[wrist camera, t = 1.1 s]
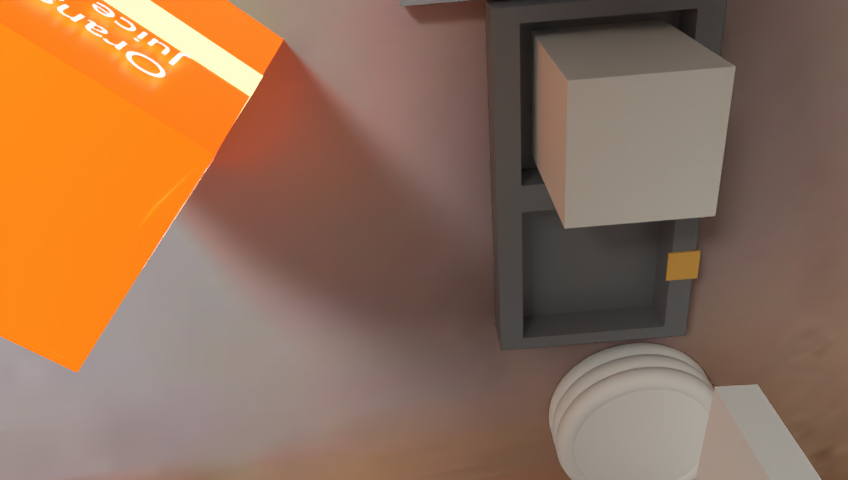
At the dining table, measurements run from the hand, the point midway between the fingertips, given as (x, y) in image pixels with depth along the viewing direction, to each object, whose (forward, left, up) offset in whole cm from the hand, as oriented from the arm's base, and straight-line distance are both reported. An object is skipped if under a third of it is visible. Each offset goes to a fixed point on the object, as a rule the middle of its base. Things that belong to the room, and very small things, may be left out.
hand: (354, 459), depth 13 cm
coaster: (+21, +13, -24) cm, 35 cm away
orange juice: (-3, -10, -24) cm, 26 cm away
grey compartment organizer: (+5, +10, -24) cm, 26 cm away
